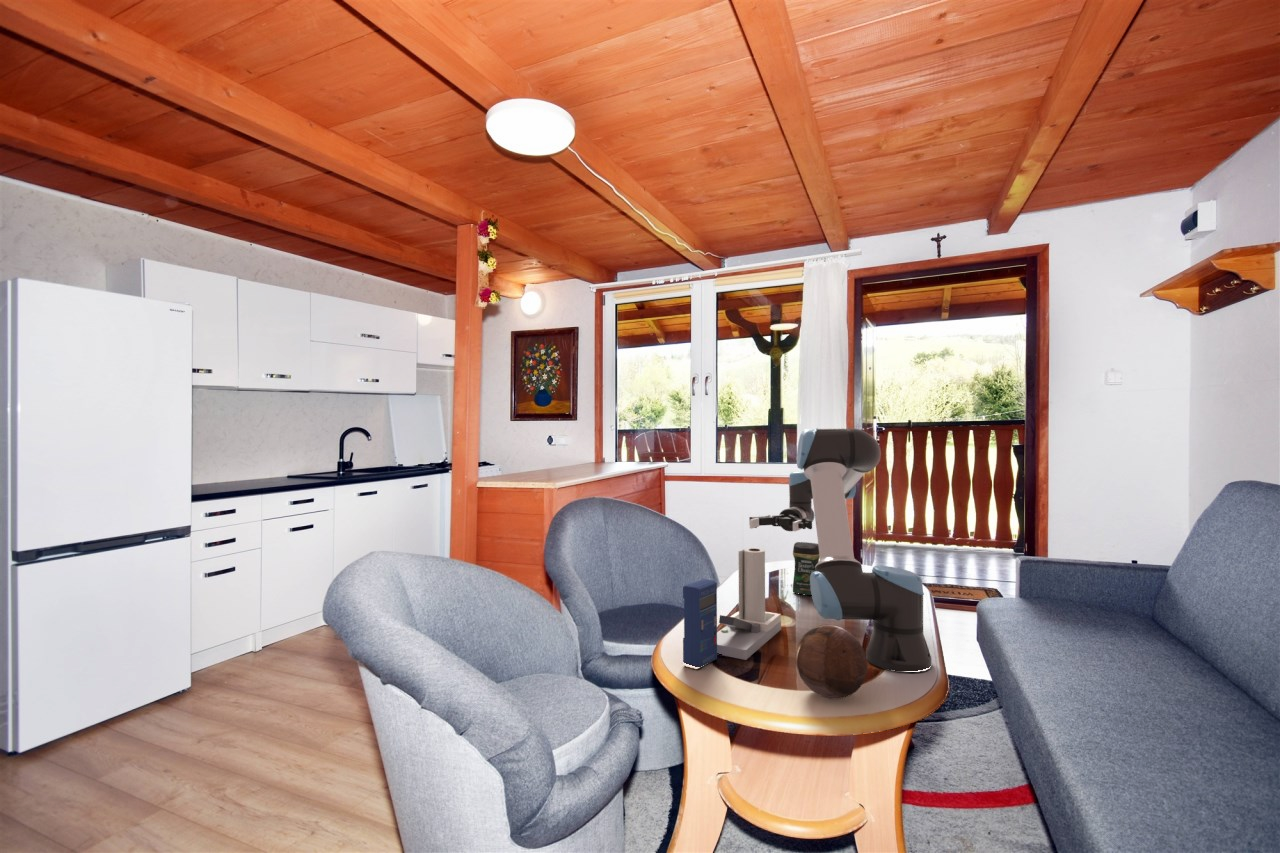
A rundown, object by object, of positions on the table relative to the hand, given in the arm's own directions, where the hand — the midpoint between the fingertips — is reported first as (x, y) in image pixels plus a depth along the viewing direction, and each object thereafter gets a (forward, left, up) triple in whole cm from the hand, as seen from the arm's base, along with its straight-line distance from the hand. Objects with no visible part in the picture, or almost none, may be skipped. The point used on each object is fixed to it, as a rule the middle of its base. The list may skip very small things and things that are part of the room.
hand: (771, 525), depth 182 cm
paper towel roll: (-5, +9, -28) cm, 29 cm away
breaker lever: (-10, +14, -26) cm, 32 cm away
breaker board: (-10, +14, -30) cm, 35 cm away
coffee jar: (+28, -30, -30) cm, 51 cm away
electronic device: (-23, +33, -30) cm, 51 cm away
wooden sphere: (-49, +13, -30) cm, 59 cm away
